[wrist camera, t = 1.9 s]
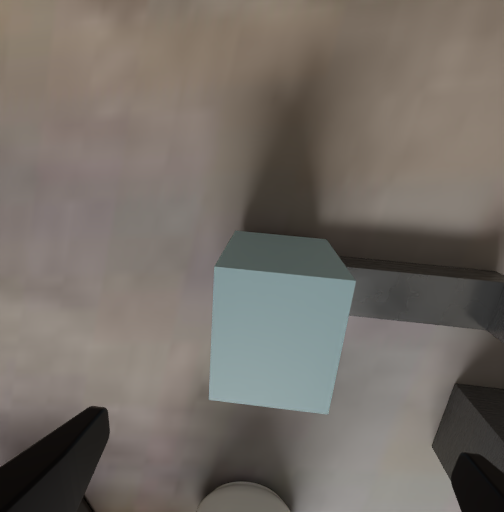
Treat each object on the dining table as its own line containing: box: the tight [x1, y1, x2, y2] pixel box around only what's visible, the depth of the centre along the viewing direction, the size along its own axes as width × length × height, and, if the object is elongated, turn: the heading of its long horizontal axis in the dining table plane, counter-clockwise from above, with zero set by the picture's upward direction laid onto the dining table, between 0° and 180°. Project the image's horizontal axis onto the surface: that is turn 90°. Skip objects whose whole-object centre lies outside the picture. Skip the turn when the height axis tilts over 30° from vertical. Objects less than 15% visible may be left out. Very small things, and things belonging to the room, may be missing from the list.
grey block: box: [209, 231, 356, 414], centre depth 15 cm, size 5×6×7 cm
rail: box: [339, 256, 504, 343], centre depth 16 cm, size 16×3×4 cm, turn 86°
